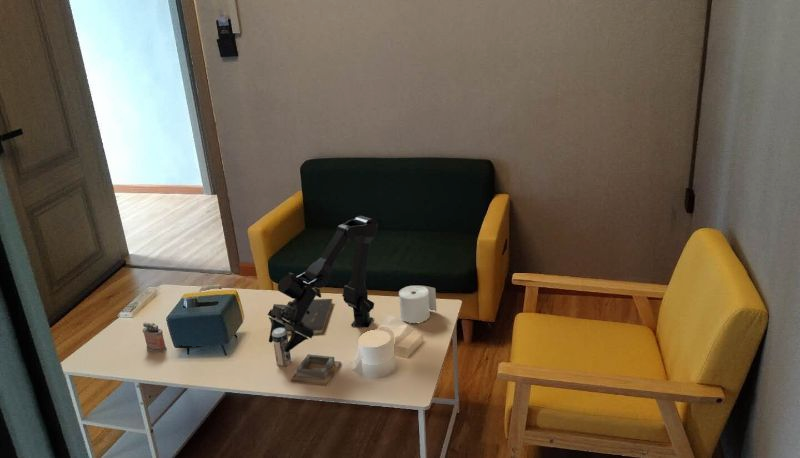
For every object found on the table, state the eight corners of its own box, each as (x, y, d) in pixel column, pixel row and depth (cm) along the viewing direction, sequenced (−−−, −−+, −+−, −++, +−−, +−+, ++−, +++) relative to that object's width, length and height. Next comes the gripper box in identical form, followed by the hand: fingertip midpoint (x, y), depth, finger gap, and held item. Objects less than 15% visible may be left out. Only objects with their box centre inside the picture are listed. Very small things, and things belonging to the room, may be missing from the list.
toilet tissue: (394, 318, 224) (392, 294, 221) (415, 305, 232) (413, 281, 229) (417, 327, 217) (415, 301, 214) (438, 313, 226) (436, 288, 222)
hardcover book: (333, 304, 239) (332, 298, 239) (322, 335, 218) (322, 329, 217) (292, 305, 241) (291, 300, 240) (278, 336, 219) (277, 330, 218)
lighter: (169, 348, 215) (163, 323, 212) (161, 353, 213) (155, 327, 209) (151, 344, 219) (145, 319, 215) (144, 349, 216) (138, 324, 212)
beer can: (288, 367, 199) (283, 334, 195) (274, 366, 200) (269, 334, 196) (293, 359, 204) (288, 327, 199) (280, 358, 205) (274, 326, 200)
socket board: (306, 360, 202) (305, 351, 201) (341, 364, 199) (340, 354, 197) (290, 381, 191) (289, 372, 190) (326, 386, 188) (325, 376, 187)
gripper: (268, 286, 203) (244, 329, 199) (301, 303, 190) (276, 349, 187) (291, 298, 210) (268, 340, 207) (325, 315, 197) (301, 360, 194)
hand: (277, 347), depth 199 cm, fingers open, 9 cm apart
